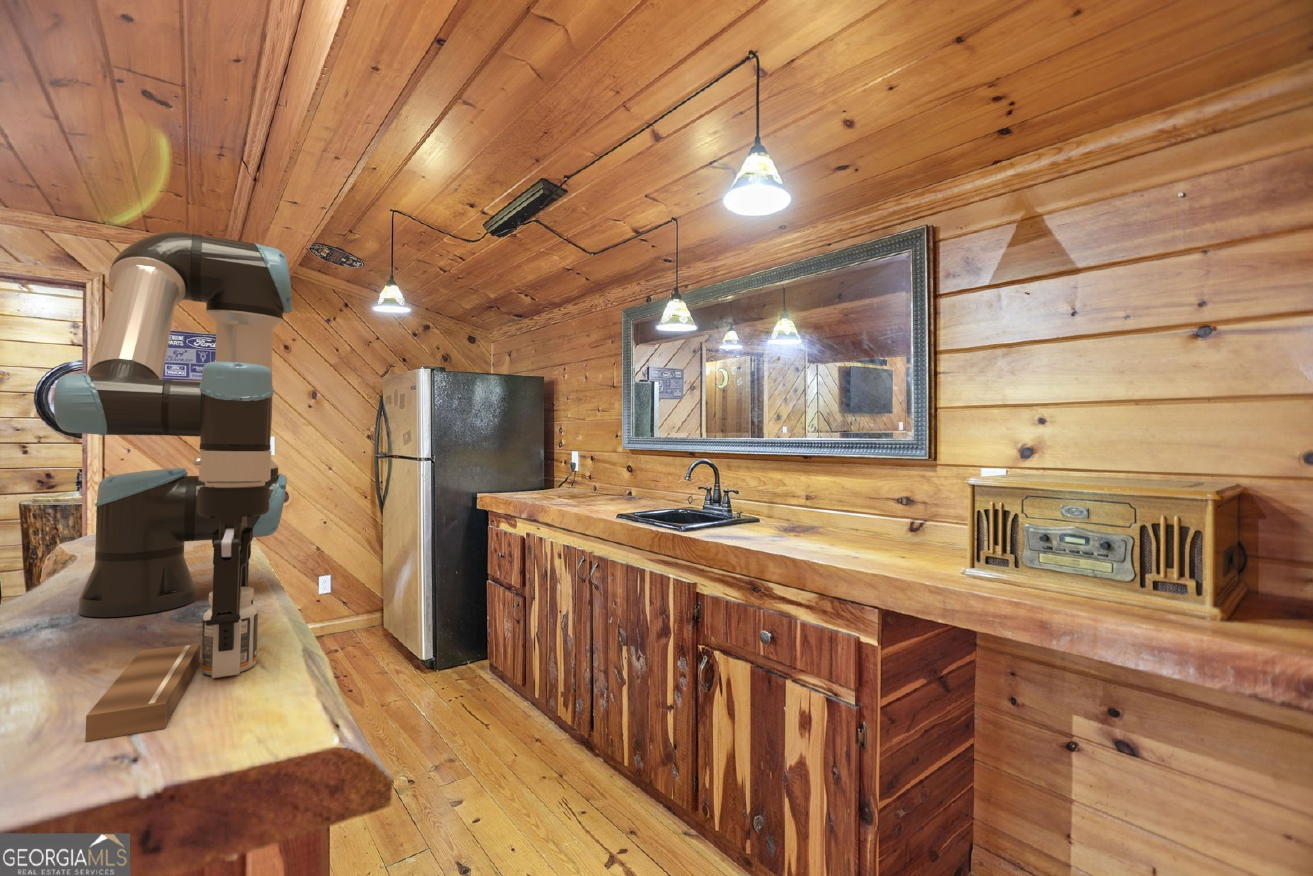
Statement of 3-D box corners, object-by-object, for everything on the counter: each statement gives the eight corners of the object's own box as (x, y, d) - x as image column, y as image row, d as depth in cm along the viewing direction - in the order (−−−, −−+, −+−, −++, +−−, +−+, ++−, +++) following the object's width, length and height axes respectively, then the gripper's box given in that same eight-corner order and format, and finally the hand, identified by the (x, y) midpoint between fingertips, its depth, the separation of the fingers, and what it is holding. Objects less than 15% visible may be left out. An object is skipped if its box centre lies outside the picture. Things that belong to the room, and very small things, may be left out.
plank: (140, 670, 75) (141, 649, 75) (199, 662, 78) (200, 642, 78) (85, 741, 58) (86, 714, 58) (164, 728, 61) (165, 702, 61)
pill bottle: (220, 661, 79) (222, 585, 79) (265, 660, 79) (267, 585, 80) (190, 678, 73) (192, 596, 73) (239, 677, 74) (242, 596, 74)
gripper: (210, 479, 83) (205, 647, 83) (183, 490, 67) (176, 700, 66) (274, 479, 87) (270, 640, 86) (263, 489, 70) (257, 688, 70)
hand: (229, 665), depth 76 cm, fingers closed on pill bottle, 6 cm apart
